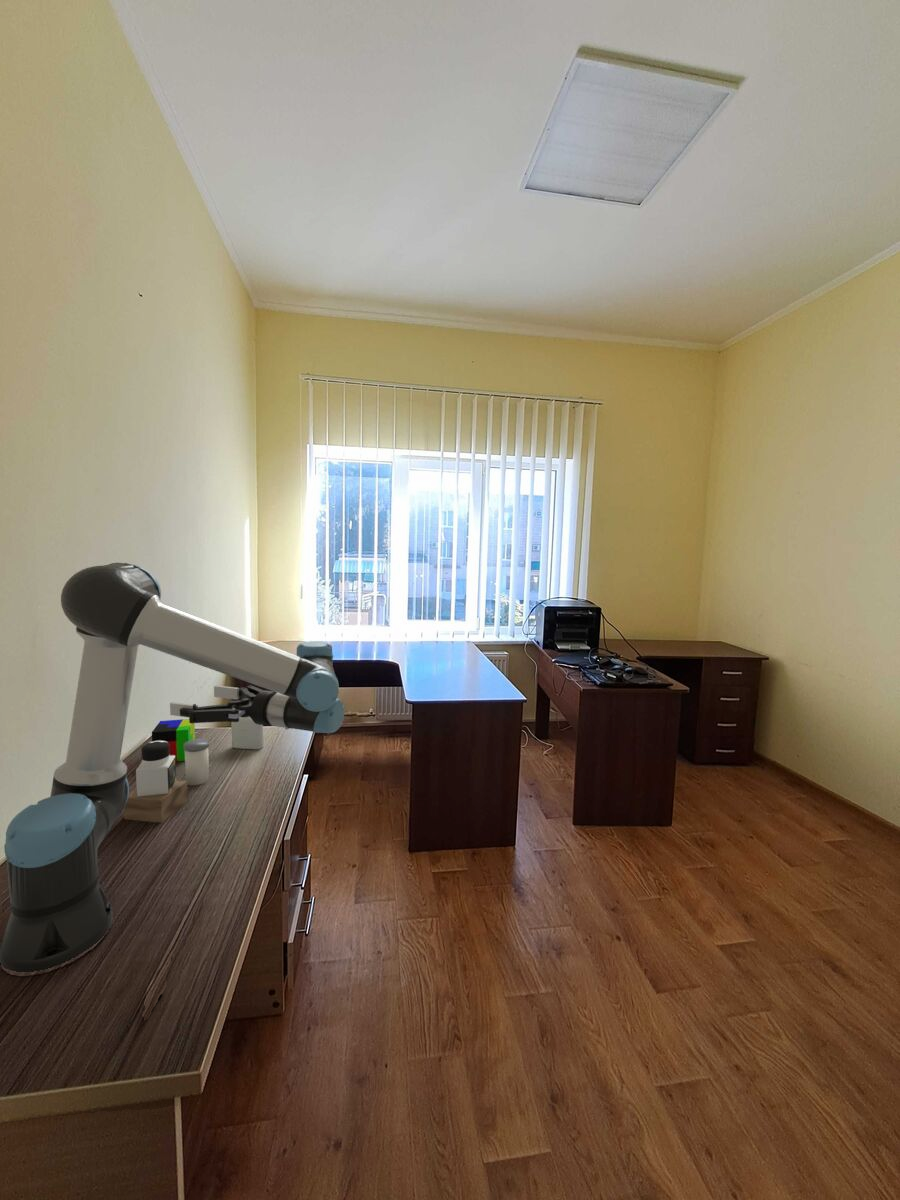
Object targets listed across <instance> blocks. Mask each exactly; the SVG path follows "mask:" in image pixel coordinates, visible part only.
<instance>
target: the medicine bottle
mask: <svg viewBox="0 0 900 1200" xmlns="http://www.w3.org/2000/svg"><path fill="white" fill-rule="evenodd" d="M176 763H177V761H176V760H175V755H173V756H170V747H169V743H168V742H166V741H153V742H152V741H149V742H148V743H145V744H143V746H142V747H141V762H140V764H139V765H138V767H137V768H136V769H135V779H136V780H135V781H136V788H137V796H138V797H141V796H151V795H161V794H169V793H170V791H171V789H172V787H173V785H174V783H175V782H176V780H177V769H176V768H177V767H176V766H177V765H176Z"/></svg>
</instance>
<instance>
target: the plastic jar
mask: <svg viewBox="0 0 900 1200" xmlns="http://www.w3.org/2000/svg"><path fill="white" fill-rule="evenodd" d="M209 747H210V740H208V739H207V738H195V739H193V740H190V741H187V742H186V743H184V750H185V760H184V770H185V771H184V772H185V775H184V776H185V781H187V784H188V786H199V785H203V784H205V783H207V782H208V781H209V780H210V765H209V764H210V762H209Z"/></svg>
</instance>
